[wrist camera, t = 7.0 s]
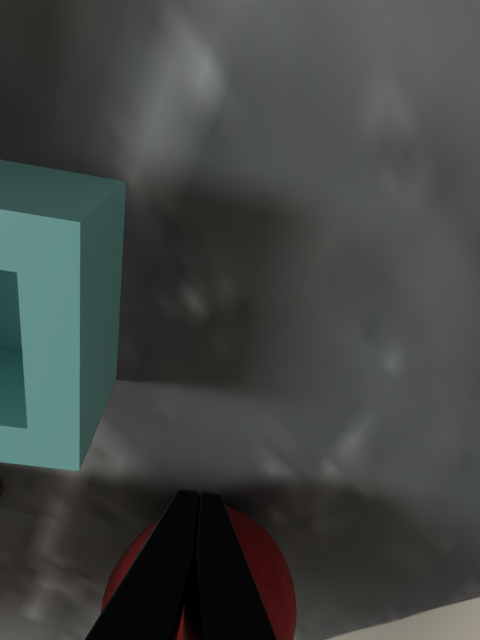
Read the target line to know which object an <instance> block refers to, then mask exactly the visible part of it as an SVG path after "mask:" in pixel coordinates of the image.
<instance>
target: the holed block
mask: <svg viewBox="0 0 480 640" xmlns="http://www.w3.org/2000/svg"><path fill="white" fill-rule="evenodd" d="M125 200H126V181H121V180H115V179H109V178H104V177H98V176H92V175H86V174H80V173H75V172H69V171H63V170H57V169H52V168H46V167H40V166H34V165H29V164H23V163H17V162H11V161H5V160H0V462H4V463H12V464H21V465H30V466H38V467H47V468H55V469H64V470H73V471H80V468H81V466H82V463H83V461H84V459H85V456H86V454H87V451H88V449H89V446H90V444H91V441H92V439H93V436H94V434H95V431H96V429H97V427H98V424H99V422H100V419H101V417H102V414H103V412H104V409H105V407H106V404H107V402H108V399H109V397H110V395H111V392H112V390H113V387H114V385H115V382H116V376H117V357H118V337H119V317H120V298H121V278H122V258H123V239H124V219H125Z"/></svg>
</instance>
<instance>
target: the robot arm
mask: <svg viewBox="0 0 480 640" xmlns="http://www.w3.org/2000/svg"><path fill="white" fill-rule="evenodd" d="M183 608H184V612H183ZM182 613H183V635H182V640H277V638H276V635H275V633H274V630H273V627H272V625H271V622H270V620H269V617H268V614H267V612H266V609H265V607H264V604H263V601H262V599H261V596H260V594H259V591H258V588H257V586H256V583H255V581H254V578H253V575H252V573H251V570H250V568H249V565H248V562H247V560H246V557H245V555H244V552H243V549H242V547H241V544H240V542H239V539H238V536H237V534H236V531H235V529H234V526H233V523H232V521H231V518H230V516H229V513H228V510H227V508H226V505H225V503H224V500H223V498H222V496H221V495H220V494H218V493H210V492H202V493H200V495H199V493H198V492H197V491H193V490H185V489H180V490H178V491H177V492H176V494H175V495H174V497H173V498H172V500H171V502H170V503H169V505H168V506H167V508H166V510H165V511H164V513H163V515H162V516H161V518H160V519H159V521H158V523H157V524H156V526H155V527H154V529H153V531H152V532H151V534H150V535H149V537H148V539H147V540H146V542H145V544H144V545H143V547H142V548H141V550H140V552H139V553H138V555H137V556H136V558H135V560H134V561H133V563H132V565H131V566H130V568H129V569H128V571H127V573H126V574H125V576H124V577H123V579H122V581H121V582H120V584H119V585H118V587H117V589H116V590H115V592H114V594H113V595H112V597H111V598H110V600H109V602H108V603H107V605H106V606H105V608H104V610H103V611H102V613H101V614H100V616H99V618H98V619H97V621H96V623H95V624H94V626H93V627H92V629H91V631H90V632H89V634H88V635H87V637H86V639H85V640H177V637H178V633H179V628H180V623H181V618H182Z"/></svg>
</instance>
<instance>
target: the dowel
mask: <svg viewBox="0 0 480 640" xmlns="http://www.w3.org/2000/svg"><path fill="white" fill-rule="evenodd" d="M2 490H3V486H2V483H1V480H0V496H1V494H2Z"/></svg>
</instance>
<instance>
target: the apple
mask: <svg viewBox="0 0 480 640" xmlns="http://www.w3.org/2000/svg"><path fill="white" fill-rule="evenodd" d="M226 508H227V510H228V513H229V516H230V518H231V521H232V523H233V526H234V529H235V531H236V534H237V536H238V539H239V542H240V544H241V547H242V549H243V552H244V555H245V557H246V560H247V562H248V565H249V568H250V570H251V573H252V575H253V578H254V581H255V583H256V586H257V588H258V591H259V594H260V596H261V599H262V601H263V604H264V607H265V609H266V612H267V614H268V617H269V620H270V622H271V625H272V627H273V630H274V633H275V635H276V638H277V640H293V639H294V633H295V626H296V599H295V590H294V584H293V580H292V577H291V574H290V571H289V568H288V566H287V563H286V561H285V558H284V556H283V554H282V553H281V551H280V549H279V547H278V545H277V544H276V542H275V541H274V539H273V538H272V537H271V535H270V534H269V533H268V532H267V531H266V530H265V529H264V528H263V527H261V526H260V525H259V524H258V523H256V522H255V521H254V520H252V519H251V518H249V517H248V516H246V515H244V514H242V513H240V512H239V511H236V510H234V509H232V508H230V507H228V506H226ZM158 521H159V520H157V521H156V522H154V523H153V524H152V525H150V526H149V527H148V528H147V529H146V530H145V531H144V532H143V533H141V534H140V535H139V536H138V537H137V538H136V539H135V541H134V542H133V543H132V544H131V545H130V546H129V548H128V549H127V550H126V552H125V553H124V555H123V556H122V557H121V559H120V561H119V562H118V564H117V565H116V567H115V568H114V570H113V572H112V574H111V576H110V578H109V581H108V583H107V587H106V590H105V593H104V597H103V603H102V609H101V613H102V611H103V610H104V608H105V606H106V605H107V603H108V602H109V600H110V598H111V597H112V595H113V594H114V592H115V590H116V589H117V587H118V585H119V584H120V582H121V581H122V579H123V577H124V576H125V574H126V573H127V571H128V569H129V568H130V566H131V565H132V563H133V561H134V560H135V558H136V556H137V555H138V553H139V552H140V550H141V548H142V547H143V545H144V544H145V542H146V540H147V539H148V537H149V535H150V534H151V532H152V531H153V529H154V527H155V526H156V524H157V523H158ZM183 612H184V608H183ZM182 635H183V613H182V618H181V623H180V628H179V633H178V637H177V640H182Z"/></svg>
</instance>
